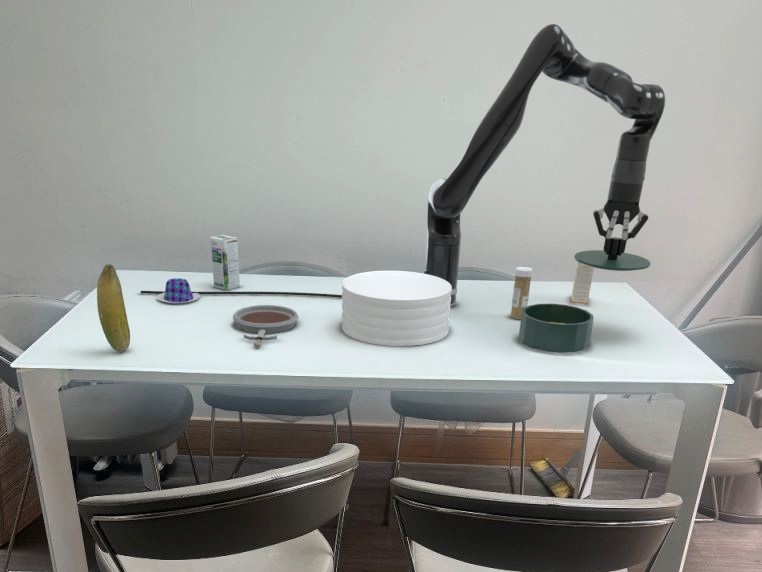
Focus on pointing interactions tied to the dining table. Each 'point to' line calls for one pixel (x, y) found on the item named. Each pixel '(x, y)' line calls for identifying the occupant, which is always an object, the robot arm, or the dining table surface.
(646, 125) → the robot arm
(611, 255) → the pot lid
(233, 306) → the dining table surface
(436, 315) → the plate stack
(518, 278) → the sprinkles bottle
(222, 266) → the syrup box
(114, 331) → the vegetable
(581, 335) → the pot
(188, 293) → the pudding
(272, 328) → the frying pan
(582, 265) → the supplement box
